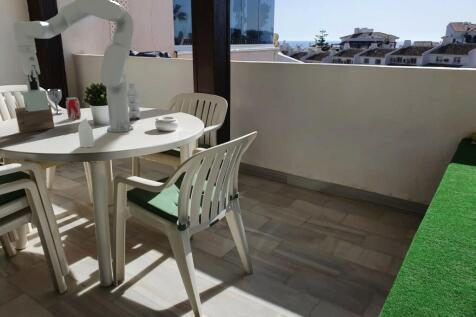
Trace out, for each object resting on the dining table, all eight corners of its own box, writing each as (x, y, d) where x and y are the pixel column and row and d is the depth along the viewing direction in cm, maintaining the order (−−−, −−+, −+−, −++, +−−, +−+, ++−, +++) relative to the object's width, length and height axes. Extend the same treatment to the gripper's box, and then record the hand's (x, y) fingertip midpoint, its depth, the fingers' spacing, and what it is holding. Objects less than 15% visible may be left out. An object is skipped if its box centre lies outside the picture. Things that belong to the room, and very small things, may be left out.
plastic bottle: (136, 116, 213) (133, 83, 207) (143, 118, 209) (140, 83, 202) (126, 118, 208) (123, 84, 202) (133, 120, 204) (130, 84, 198)
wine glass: (51, 113, 223) (47, 89, 218) (65, 112, 225) (62, 88, 221) (49, 115, 216) (45, 90, 211) (63, 115, 218) (60, 90, 213)
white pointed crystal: (73, 119, 147) (83, 116, 152) (77, 146, 151) (87, 143, 156) (83, 120, 145) (94, 118, 150) (87, 148, 149) (97, 145, 154)
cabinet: (49, 109, 175) (44, 80, 171) (29, 111, 169) (23, 81, 164) (45, 107, 178) (40, 79, 174) (25, 110, 172) (20, 81, 168)
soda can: (76, 120, 204) (73, 99, 200) (65, 119, 205) (62, 98, 202) (83, 117, 211) (81, 97, 207) (73, 117, 212) (70, 97, 208)
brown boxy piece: (56, 128, 184) (53, 105, 180) (22, 133, 173) (17, 109, 169) (49, 125, 191) (45, 103, 187) (15, 130, 180) (11, 106, 176)
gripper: (41, 49, 162) (47, 90, 168) (30, 49, 172) (36, 87, 178) (23, 50, 157) (30, 91, 163) (12, 49, 167) (20, 89, 173)
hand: (33, 89), depth 171 cm, fingers closed on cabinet, 1 cm apart
